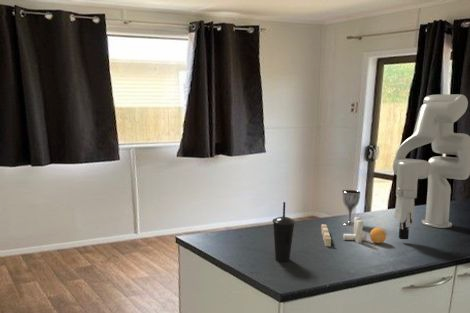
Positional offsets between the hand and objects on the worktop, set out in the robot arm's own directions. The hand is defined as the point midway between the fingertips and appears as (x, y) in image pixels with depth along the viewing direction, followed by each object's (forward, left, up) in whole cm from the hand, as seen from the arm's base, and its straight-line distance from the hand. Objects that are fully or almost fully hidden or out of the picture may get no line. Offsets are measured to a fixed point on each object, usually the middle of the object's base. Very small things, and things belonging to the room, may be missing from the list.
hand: (403, 238), depth 165 cm
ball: (+2, -10, +1) cm, 11 cm away
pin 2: (+3, -18, -2) cm, 18 cm away
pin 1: (-2, -18, -2) cm, 18 cm away
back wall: (0, -30, -2) cm, 30 cm away
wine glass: (-25, -17, -2) cm, 30 cm away
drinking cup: (+27, -47, -2) cm, 54 cm away
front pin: (0, -14, -1) cm, 15 cm away
